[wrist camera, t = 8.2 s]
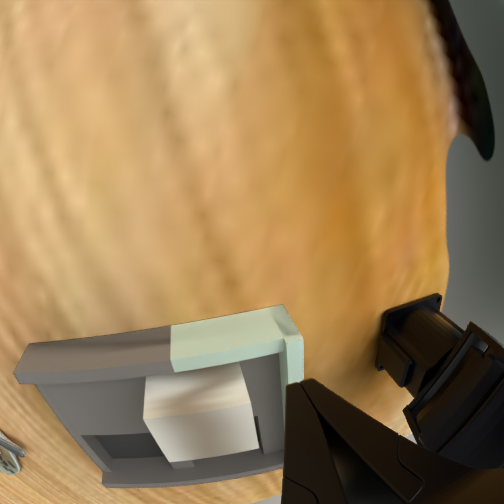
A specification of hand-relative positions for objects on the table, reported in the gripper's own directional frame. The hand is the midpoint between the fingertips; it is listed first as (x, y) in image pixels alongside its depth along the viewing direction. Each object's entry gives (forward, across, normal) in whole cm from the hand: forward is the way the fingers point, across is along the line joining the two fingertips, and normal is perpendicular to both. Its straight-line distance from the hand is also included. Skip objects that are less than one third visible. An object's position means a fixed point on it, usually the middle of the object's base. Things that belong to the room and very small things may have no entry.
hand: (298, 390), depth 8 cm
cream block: (+9, +4, +8) cm, 13 cm away
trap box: (+11, +7, +12) cm, 18 cm away
